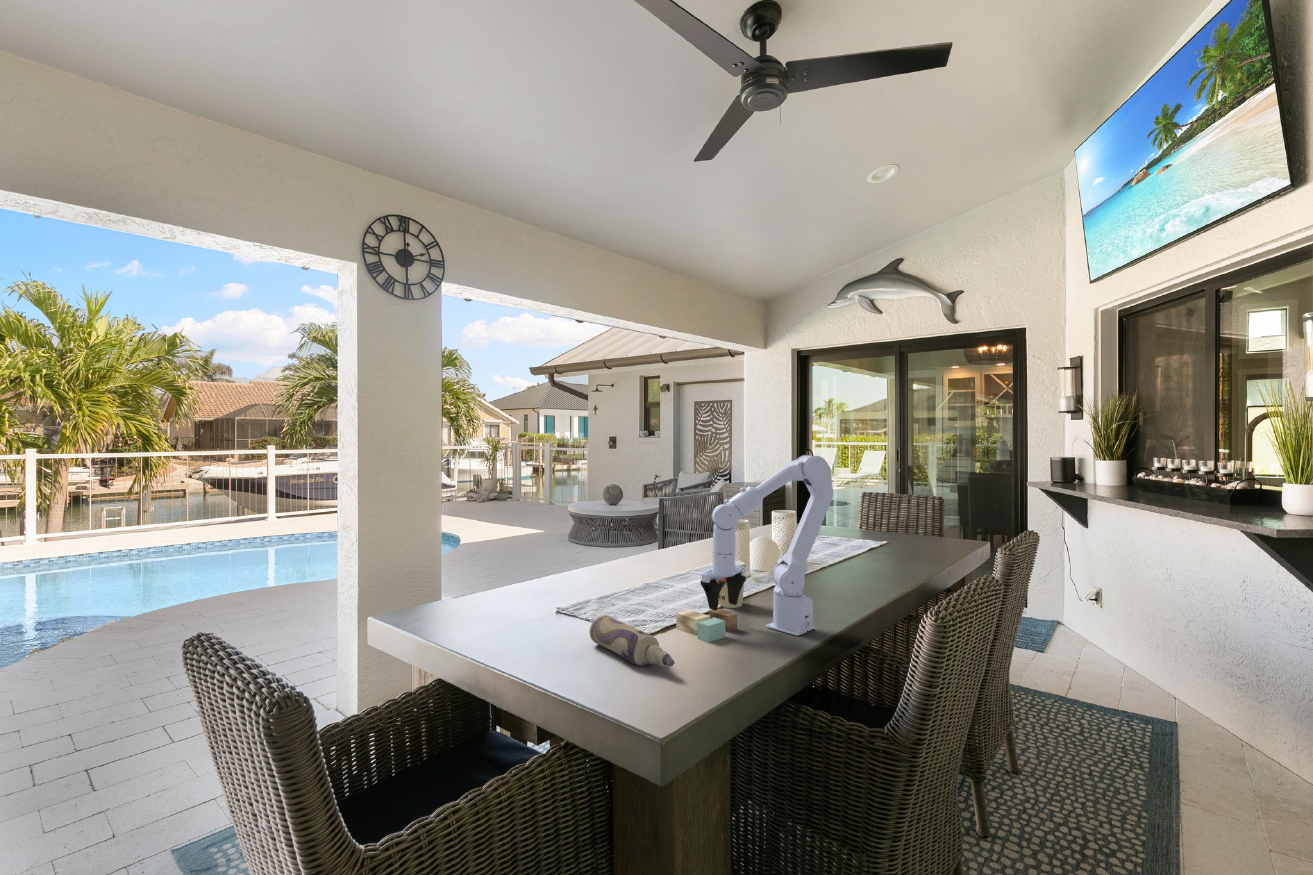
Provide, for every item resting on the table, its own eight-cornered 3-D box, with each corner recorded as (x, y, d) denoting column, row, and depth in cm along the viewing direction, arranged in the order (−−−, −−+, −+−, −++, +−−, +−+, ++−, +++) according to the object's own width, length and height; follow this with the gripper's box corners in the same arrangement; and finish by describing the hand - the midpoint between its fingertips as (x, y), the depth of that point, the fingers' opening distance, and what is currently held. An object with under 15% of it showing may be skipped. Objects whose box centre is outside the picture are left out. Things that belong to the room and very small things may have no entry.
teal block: (714, 633, 146) (714, 617, 146) (725, 637, 143) (725, 620, 143) (697, 639, 142) (697, 622, 142) (708, 642, 139) (708, 625, 139)
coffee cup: (706, 601, 174) (707, 560, 174) (733, 598, 178) (734, 558, 178) (723, 610, 166) (723, 567, 166) (751, 606, 170) (751, 564, 170)
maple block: (709, 632, 147) (709, 615, 147) (696, 636, 144) (696, 619, 144) (688, 625, 152) (688, 609, 152) (676, 629, 149) (676, 613, 149)
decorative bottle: (586, 646, 136) (587, 617, 136) (614, 640, 141) (615, 612, 141) (655, 683, 116) (656, 648, 116) (685, 674, 120) (686, 641, 120)
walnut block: (737, 629, 149) (737, 613, 149) (728, 632, 147) (728, 616, 147) (718, 624, 154) (718, 608, 154) (709, 627, 151) (709, 611, 151)
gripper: (729, 547, 158) (729, 598, 158) (692, 553, 148) (691, 608, 148) (751, 551, 153) (750, 604, 153) (714, 558, 143) (713, 614, 143)
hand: (723, 606), depth 150 cm, fingers open, 7 cm apart
